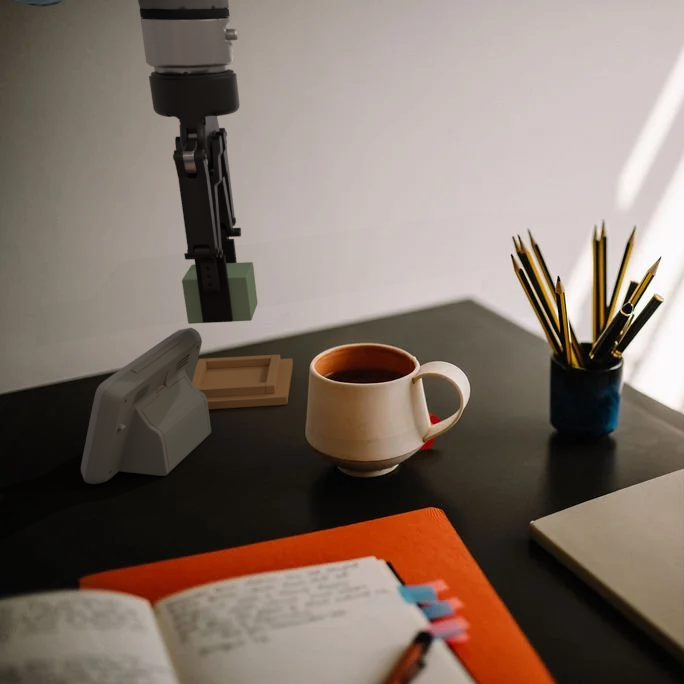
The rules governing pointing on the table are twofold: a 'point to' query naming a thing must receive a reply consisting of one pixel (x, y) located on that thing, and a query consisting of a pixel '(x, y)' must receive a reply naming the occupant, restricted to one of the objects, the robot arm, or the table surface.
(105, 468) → the digital clock
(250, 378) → the socket pad
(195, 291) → the green block
